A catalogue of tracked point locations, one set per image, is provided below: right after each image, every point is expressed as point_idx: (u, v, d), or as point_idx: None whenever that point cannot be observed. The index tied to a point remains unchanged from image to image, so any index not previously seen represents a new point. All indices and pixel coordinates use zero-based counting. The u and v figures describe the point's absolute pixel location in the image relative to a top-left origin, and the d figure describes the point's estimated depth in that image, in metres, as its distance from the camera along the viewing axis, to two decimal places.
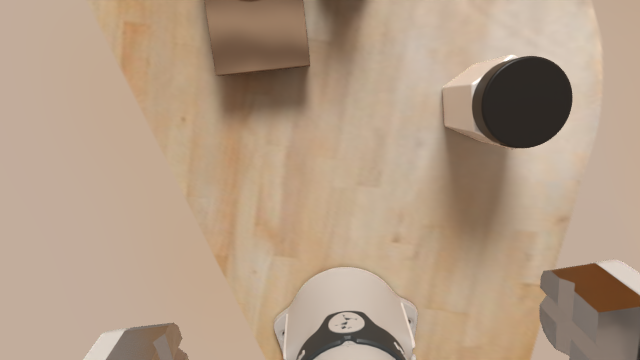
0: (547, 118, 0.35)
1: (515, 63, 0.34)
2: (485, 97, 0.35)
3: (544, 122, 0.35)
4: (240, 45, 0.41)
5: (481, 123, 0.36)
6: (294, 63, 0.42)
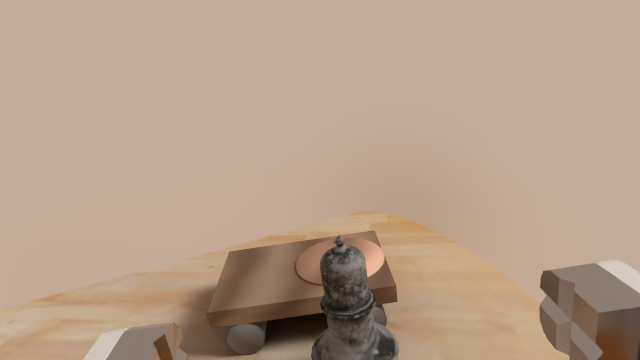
0: None
1: None
2: None
3: None
4: (251, 262, 0.38)
5: None
6: (214, 300, 0.33)
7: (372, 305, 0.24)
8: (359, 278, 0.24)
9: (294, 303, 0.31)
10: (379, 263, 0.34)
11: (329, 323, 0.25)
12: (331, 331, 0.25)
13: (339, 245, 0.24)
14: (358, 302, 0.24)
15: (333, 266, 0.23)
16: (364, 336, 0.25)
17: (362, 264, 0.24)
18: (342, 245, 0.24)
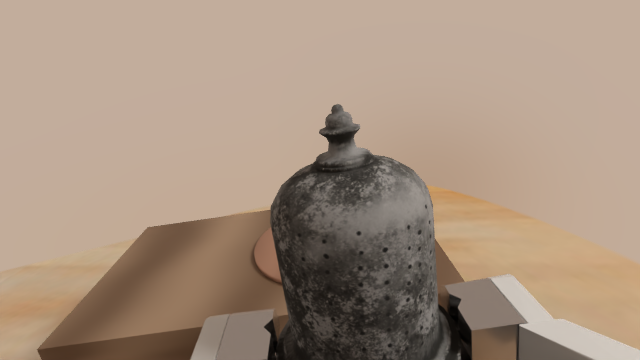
0: None
1: None
2: None
3: None
4: (177, 244, 0.20)
5: None
6: (71, 318, 0.15)
7: (454, 359, 0.07)
8: (415, 263, 0.06)
9: None
10: None
11: None
12: None
13: (339, 140, 0.06)
14: (408, 350, 0.07)
15: (316, 214, 0.06)
16: None
17: (425, 210, 0.06)
18: (350, 141, 0.07)
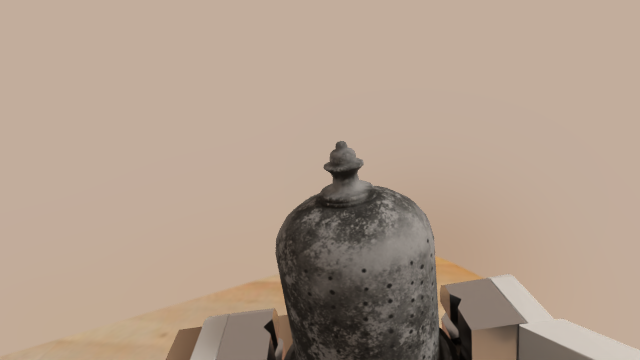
0: None
1: None
2: None
3: None
4: None
5: None
6: None
7: None
8: (418, 296, 0.06)
9: None
10: None
11: None
12: None
13: (343, 176, 0.07)
14: None
15: (321, 251, 0.06)
16: None
17: (427, 244, 0.07)
18: (353, 177, 0.07)
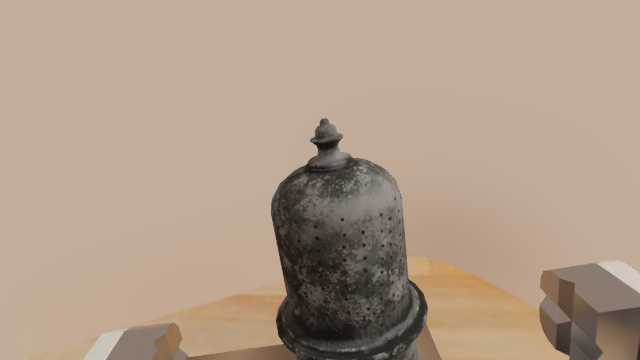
0: None
1: None
2: None
3: None
4: None
5: None
6: None
7: (421, 321, 0.09)
8: (387, 243, 0.08)
9: None
10: None
11: None
12: None
13: (326, 146, 0.08)
14: (383, 313, 0.08)
15: (308, 205, 0.08)
16: None
17: (395, 201, 0.08)
18: (335, 148, 0.08)
